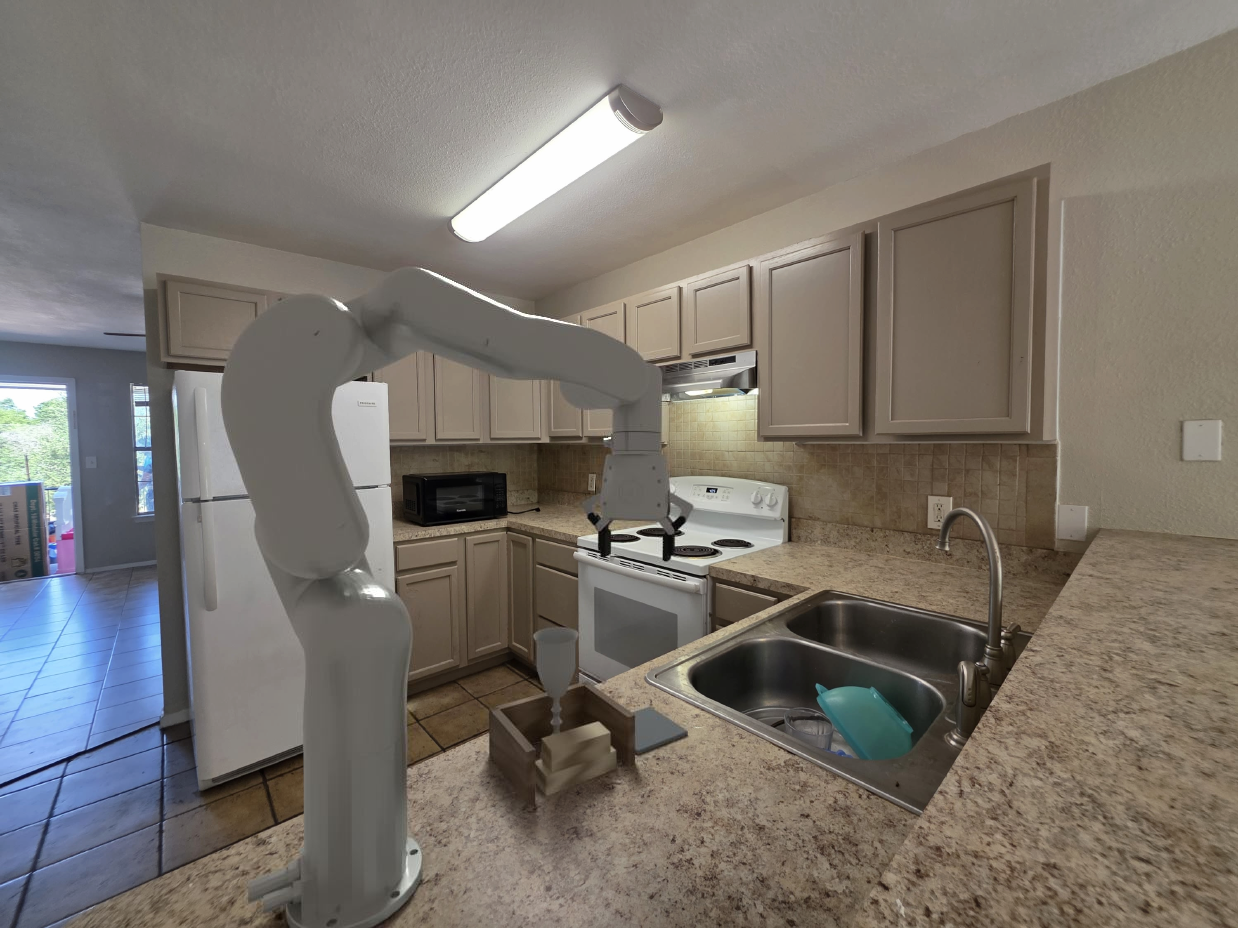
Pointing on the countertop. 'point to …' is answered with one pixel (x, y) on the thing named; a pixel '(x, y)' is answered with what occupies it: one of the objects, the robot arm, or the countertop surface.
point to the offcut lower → (573, 773)
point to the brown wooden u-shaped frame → (532, 721)
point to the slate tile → (654, 729)
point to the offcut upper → (575, 746)
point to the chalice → (556, 665)
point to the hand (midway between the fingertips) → (635, 558)
